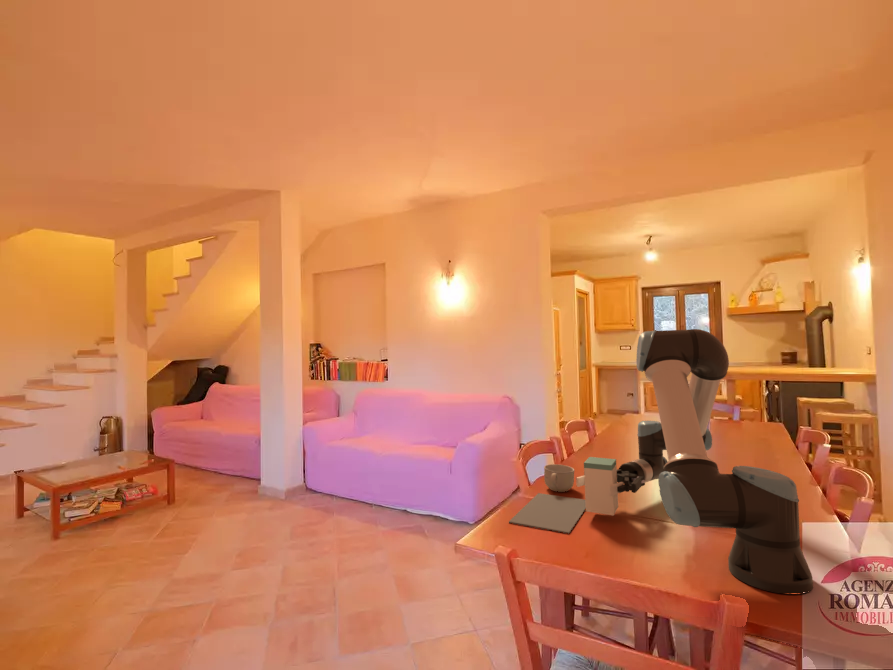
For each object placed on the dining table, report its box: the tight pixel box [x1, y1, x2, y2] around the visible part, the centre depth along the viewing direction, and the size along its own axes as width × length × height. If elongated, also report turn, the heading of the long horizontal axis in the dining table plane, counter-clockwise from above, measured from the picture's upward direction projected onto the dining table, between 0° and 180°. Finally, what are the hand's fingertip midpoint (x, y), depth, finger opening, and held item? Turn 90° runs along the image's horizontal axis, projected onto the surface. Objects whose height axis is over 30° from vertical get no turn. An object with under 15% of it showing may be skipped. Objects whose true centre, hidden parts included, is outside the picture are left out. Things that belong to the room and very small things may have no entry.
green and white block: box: [583, 456, 619, 516], centre depth 135 cm, size 8×8×14 cm
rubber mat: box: [508, 492, 586, 535], centre depth 140 cm, size 28×18×1 cm, turn 150°
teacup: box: [543, 463, 576, 493], centre depth 160 cm, size 14×11×8 cm
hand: (592, 486), depth 132 cm, fingers closed on green and white block, 11 cm apart
